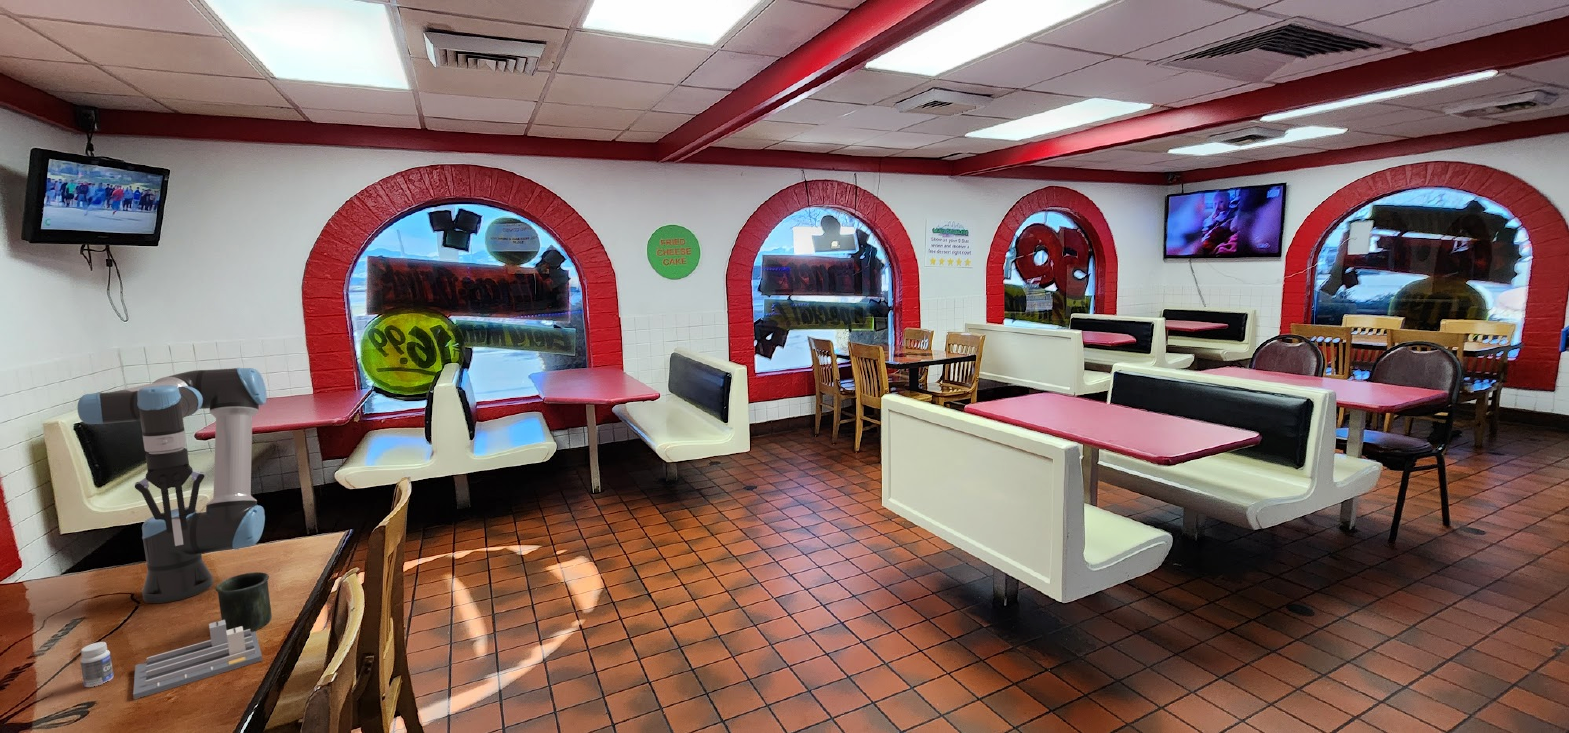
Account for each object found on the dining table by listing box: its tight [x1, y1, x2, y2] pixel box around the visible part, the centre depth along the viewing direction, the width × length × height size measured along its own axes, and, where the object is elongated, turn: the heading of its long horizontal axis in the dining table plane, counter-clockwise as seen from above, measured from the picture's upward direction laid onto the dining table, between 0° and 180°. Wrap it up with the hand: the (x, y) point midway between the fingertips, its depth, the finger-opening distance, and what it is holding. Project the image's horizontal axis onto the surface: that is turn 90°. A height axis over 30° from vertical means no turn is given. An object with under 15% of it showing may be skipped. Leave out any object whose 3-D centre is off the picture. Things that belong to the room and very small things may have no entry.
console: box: [132, 620, 263, 700], centre depth 159 cm, size 15×22×7 cm
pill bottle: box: [80, 641, 114, 688], centre depth 153 cm, size 5×5×8 cm
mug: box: [214, 571, 273, 632], centre depth 178 cm, size 11×15×12 cm
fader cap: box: [226, 626, 246, 655], centre depth 162 cm, size 3×3×6 cm
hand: (179, 543), depth 169 cm, fingers closed
